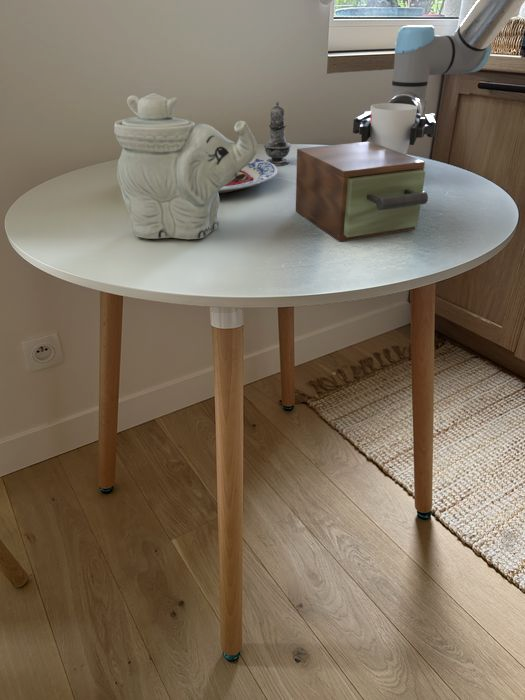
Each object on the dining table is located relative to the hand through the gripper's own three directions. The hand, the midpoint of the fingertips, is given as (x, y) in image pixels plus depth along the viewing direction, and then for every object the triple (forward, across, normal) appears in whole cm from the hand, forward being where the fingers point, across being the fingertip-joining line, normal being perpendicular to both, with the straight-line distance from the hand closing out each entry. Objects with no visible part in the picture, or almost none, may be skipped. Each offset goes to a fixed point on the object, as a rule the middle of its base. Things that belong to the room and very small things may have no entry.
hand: (388, 135), depth 94 cm
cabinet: (+19, +2, -9) cm, 21 cm away
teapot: (+31, +24, -9) cm, 40 cm away
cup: (-5, 0, -6) cm, 8 cm away
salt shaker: (-13, +24, -9) cm, 29 cm away
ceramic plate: (+5, +32, -9) cm, 34 cm away
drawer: (+22, 0, -8) cm, 24 cm away
